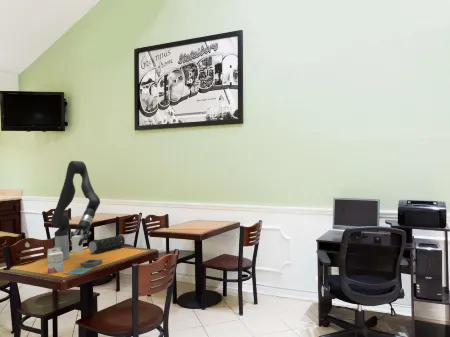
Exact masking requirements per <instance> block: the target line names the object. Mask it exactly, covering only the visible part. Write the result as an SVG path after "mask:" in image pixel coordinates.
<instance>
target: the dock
mask: <svg viewBox="0 0 450 337" xmlns="http://www.w3.org/2000/svg"><path fill="white" fill-rule="evenodd" d="M101 264H103V259H87V260H85V261H83V262H80V267H79V268H96V267H97V266H99V265H101Z"/></svg>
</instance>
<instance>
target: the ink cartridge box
mask: <svg viewBox="0 0 450 337" xmlns="http://www.w3.org/2000/svg"><path fill="white" fill-rule="evenodd" d="M54 249H55V250H56V251H54ZM46 255H47V257H46V258H47V272H48V273H49V274H53V273H59V272H64V269H65V267H64V259H63V252H61V247H59V248H54V247H53V248H48V249H47V254H46Z"/></svg>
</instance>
